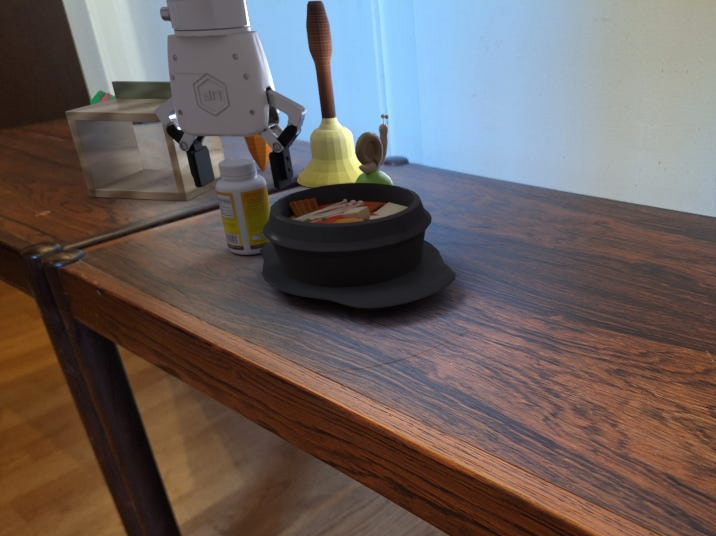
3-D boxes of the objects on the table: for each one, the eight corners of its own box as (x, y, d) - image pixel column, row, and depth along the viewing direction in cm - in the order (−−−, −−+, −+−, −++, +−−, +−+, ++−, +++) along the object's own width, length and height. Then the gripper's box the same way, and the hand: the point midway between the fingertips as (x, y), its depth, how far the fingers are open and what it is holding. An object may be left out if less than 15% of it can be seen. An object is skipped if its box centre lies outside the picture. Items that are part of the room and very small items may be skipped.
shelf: (90, 197, 104) (59, 93, 97) (139, 176, 114) (114, 80, 107) (187, 201, 101) (162, 94, 94) (228, 179, 111) (209, 81, 104)
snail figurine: (408, 205, 97) (402, 115, 91) (378, 218, 92) (370, 124, 86) (378, 200, 99) (370, 112, 94) (347, 212, 95) (337, 120, 89)
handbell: (380, 167, 116) (365, -2, 104) (368, 187, 105) (349, 1, 93) (307, 168, 116) (283, 0, 104) (287, 188, 106) (258, 3, 93)
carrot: (284, 169, 116) (269, 73, 108) (258, 175, 113) (241, 76, 105) (268, 165, 119) (252, 70, 111) (242, 170, 116) (224, 74, 108)
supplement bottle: (282, 240, 85) (268, 155, 80) (270, 256, 81) (254, 167, 76) (237, 240, 86) (220, 156, 81) (222, 257, 81) (203, 168, 76)
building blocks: (124, 142, 159) (152, 112, 153) (87, 125, 153) (115, 93, 147) (125, 117, 163) (152, 86, 157) (89, 99, 156) (116, 66, 150)
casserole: (223, 269, 77) (207, 194, 73) (365, 230, 88) (358, 163, 84) (339, 348, 61) (327, 257, 57) (498, 289, 71) (498, 208, 67)
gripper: (112, 22, 69) (156, 192, 78) (272, 18, 66) (301, 196, 75) (156, 17, 76) (193, 175, 84) (305, 13, 73) (328, 177, 81)
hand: (244, 185), depth 79 cm, fingers open, 9 cm apart
